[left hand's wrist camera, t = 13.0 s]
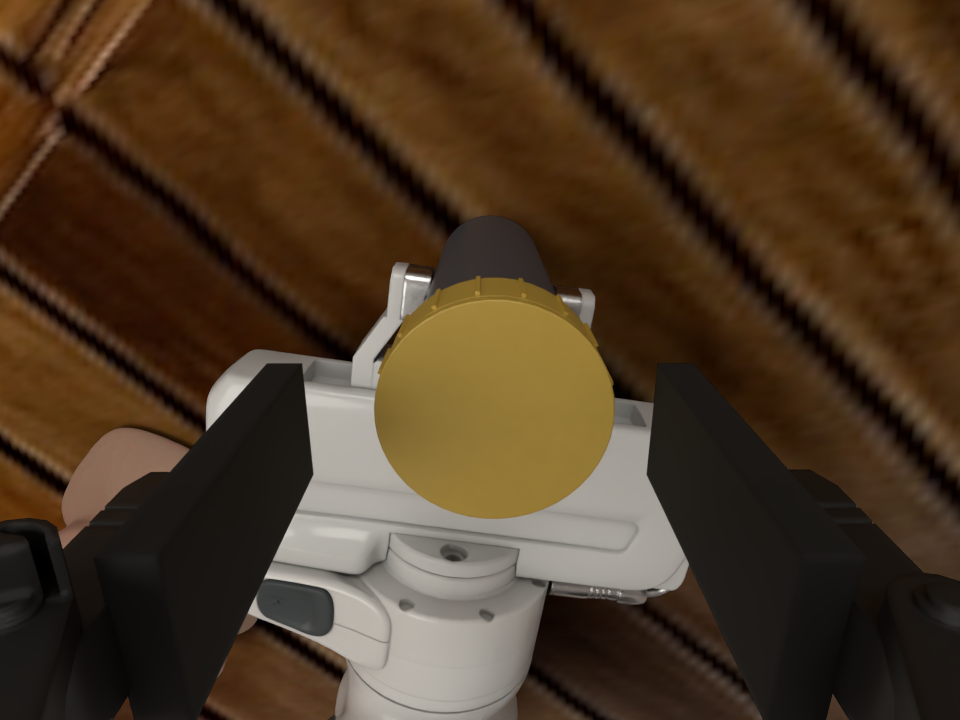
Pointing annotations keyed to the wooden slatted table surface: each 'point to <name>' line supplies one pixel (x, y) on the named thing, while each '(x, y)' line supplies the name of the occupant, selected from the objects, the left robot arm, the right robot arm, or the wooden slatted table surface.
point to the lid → (494, 399)
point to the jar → (489, 255)
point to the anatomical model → (117, 478)
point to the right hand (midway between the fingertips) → (493, 278)
